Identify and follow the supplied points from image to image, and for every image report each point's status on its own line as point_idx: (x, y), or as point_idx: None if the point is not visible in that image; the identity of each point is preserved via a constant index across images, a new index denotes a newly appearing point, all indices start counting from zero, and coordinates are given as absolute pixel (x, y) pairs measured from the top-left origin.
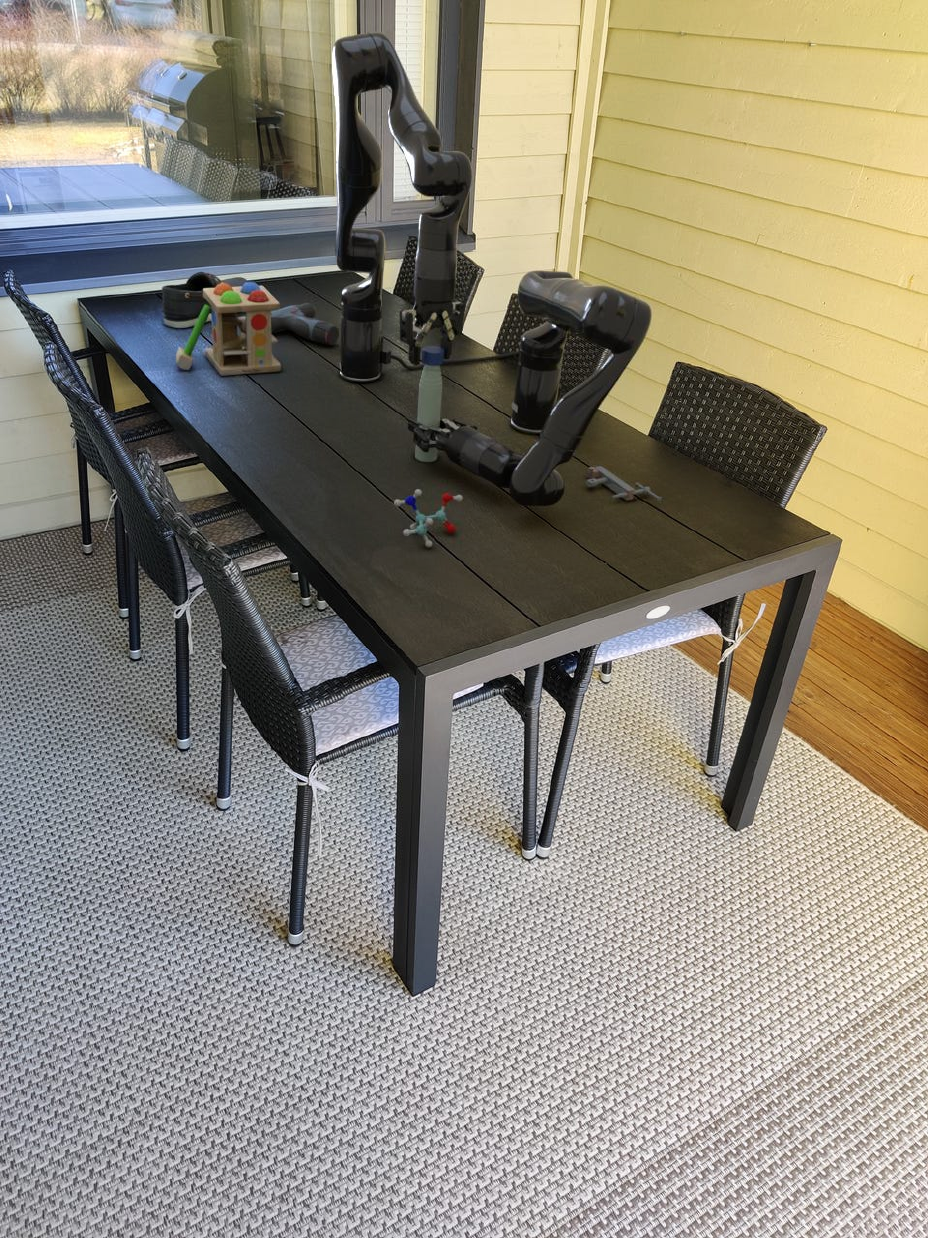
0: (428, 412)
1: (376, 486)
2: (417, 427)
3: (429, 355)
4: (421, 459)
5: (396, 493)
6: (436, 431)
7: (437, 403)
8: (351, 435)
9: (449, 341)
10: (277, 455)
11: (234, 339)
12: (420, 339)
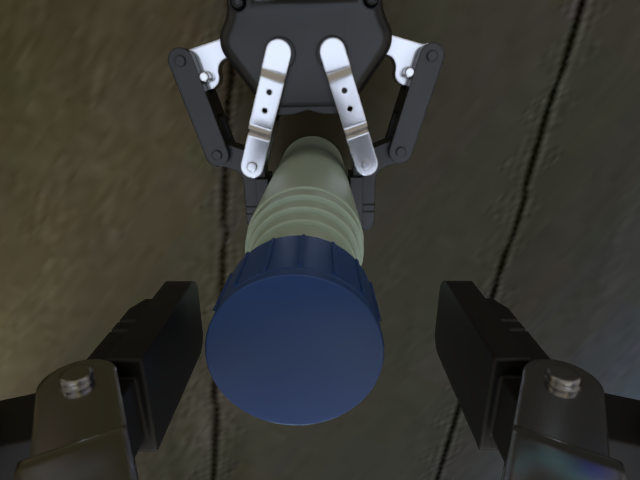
0: (339, 175)
1: (550, 89)
2: (371, 178)
3: (370, 300)
4: (340, 154)
5: (539, 19)
6: (356, 89)
7: (305, 169)
8: (395, 356)
9: (126, 355)
10: (609, 349)
11: None
12: (552, 408)
